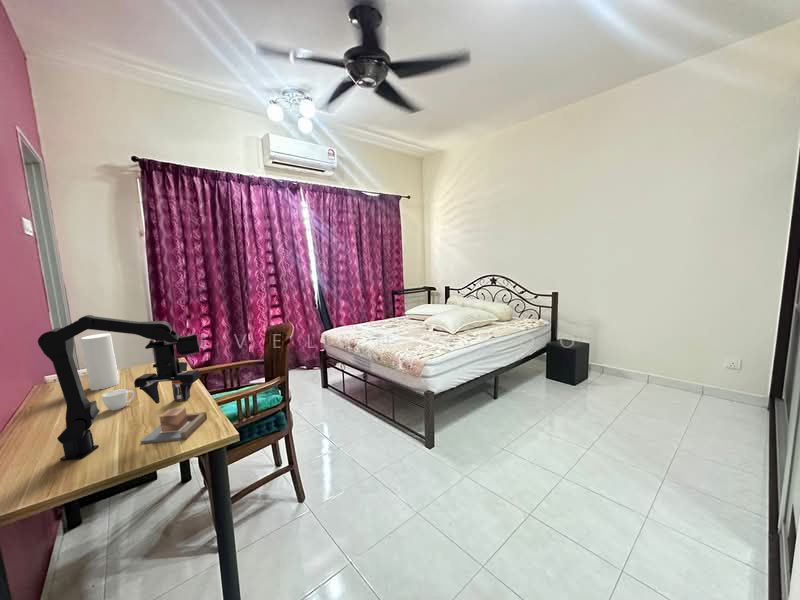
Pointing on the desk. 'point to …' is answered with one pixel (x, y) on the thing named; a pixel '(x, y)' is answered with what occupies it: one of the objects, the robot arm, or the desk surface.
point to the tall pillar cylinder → (100, 361)
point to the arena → (181, 434)
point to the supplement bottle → (178, 390)
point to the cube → (173, 419)
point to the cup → (117, 399)
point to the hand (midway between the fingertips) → (172, 402)
